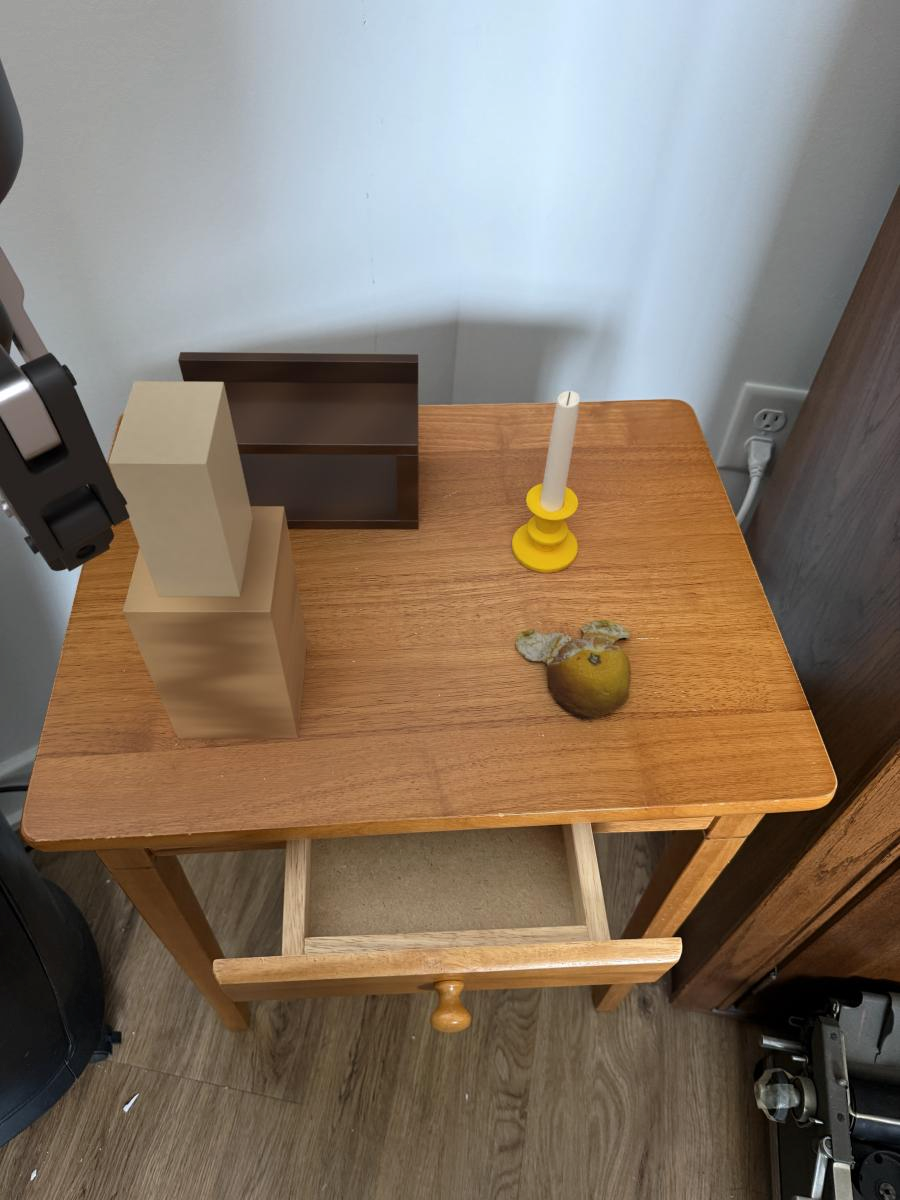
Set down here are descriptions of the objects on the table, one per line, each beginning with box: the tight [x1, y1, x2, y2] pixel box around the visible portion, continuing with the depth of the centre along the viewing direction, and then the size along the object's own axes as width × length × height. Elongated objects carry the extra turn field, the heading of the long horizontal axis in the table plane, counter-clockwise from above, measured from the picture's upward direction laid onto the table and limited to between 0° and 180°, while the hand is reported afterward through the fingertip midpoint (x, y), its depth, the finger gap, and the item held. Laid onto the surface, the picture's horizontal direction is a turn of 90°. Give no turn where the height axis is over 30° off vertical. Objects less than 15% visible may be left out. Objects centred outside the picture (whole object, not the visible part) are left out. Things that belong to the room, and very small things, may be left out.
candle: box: [511, 390, 581, 574], centre depth 64 cm, size 5×5×16 cm
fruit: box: [514, 619, 632, 720], centre depth 62 cm, size 8×8×4 cm
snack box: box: [108, 380, 253, 597], centre depth 47 cm, size 4×6×10 cm
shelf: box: [177, 351, 420, 530], centre depth 69 cm, size 18×8×11 cm, turn 91°
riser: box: [122, 506, 308, 740], centre depth 56 cm, size 8×8×14 cm
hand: (16, 460), depth 30 cm, fingers open, 8 cm apart
